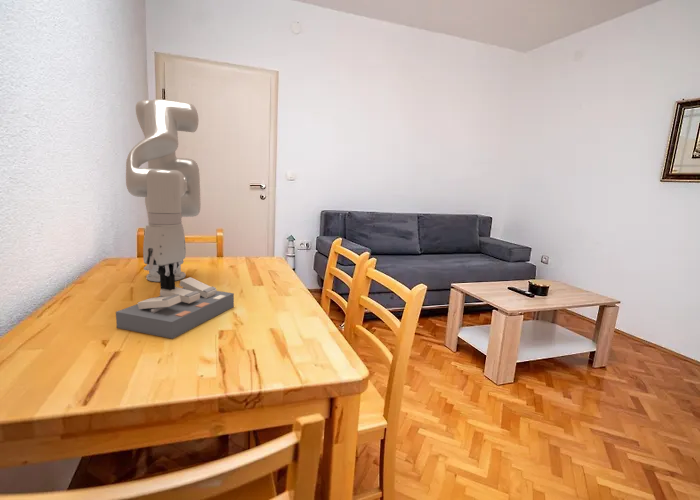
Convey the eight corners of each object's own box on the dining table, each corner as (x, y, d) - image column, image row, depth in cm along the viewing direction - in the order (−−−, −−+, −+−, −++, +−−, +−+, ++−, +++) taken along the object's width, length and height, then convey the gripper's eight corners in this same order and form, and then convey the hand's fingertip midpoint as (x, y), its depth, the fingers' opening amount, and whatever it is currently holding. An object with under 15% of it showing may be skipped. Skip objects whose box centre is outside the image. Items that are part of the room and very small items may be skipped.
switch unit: (116, 327, 87) (115, 308, 87) (187, 299, 110) (186, 283, 109) (172, 338, 83) (171, 318, 82) (233, 306, 106) (233, 290, 105)
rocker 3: (179, 285, 101) (180, 279, 101) (189, 282, 105) (190, 276, 105) (206, 298, 100) (207, 292, 99) (215, 294, 103) (216, 288, 103)
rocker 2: (160, 295, 95) (160, 288, 95) (171, 291, 99) (171, 284, 98) (189, 303, 93) (189, 296, 92) (199, 299, 97) (200, 292, 96)
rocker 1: (139, 309, 89) (137, 301, 88) (152, 304, 92) (150, 296, 92) (168, 306, 86) (167, 298, 86) (181, 301, 90) (179, 294, 89)
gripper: (174, 216, 101) (176, 280, 104) (128, 220, 87) (132, 295, 90) (197, 218, 99) (199, 284, 102) (153, 223, 85) (157, 299, 88)
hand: (167, 289), depth 96 cm, fingers closed
